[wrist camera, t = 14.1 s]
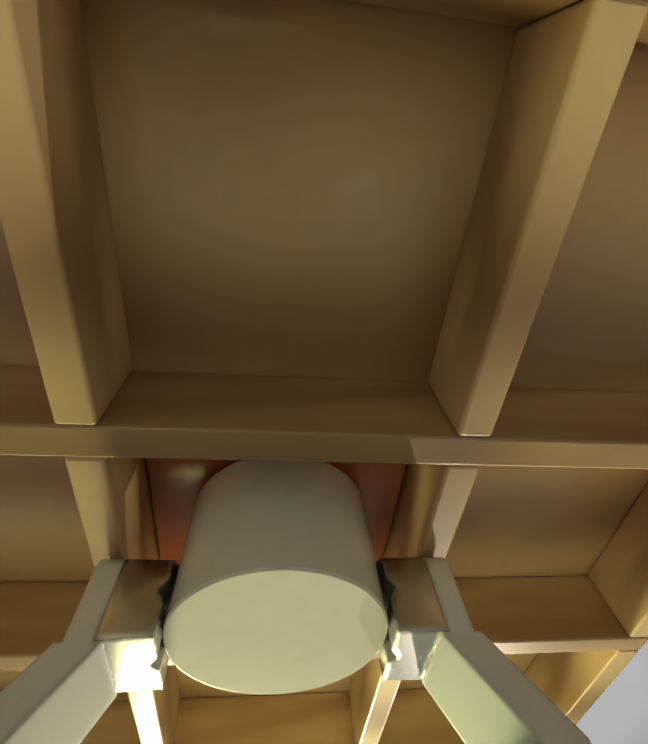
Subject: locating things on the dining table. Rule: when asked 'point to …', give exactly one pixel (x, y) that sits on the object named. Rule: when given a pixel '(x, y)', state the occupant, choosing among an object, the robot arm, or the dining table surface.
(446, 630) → the robot arm
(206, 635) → the white cylinder
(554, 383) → the board
